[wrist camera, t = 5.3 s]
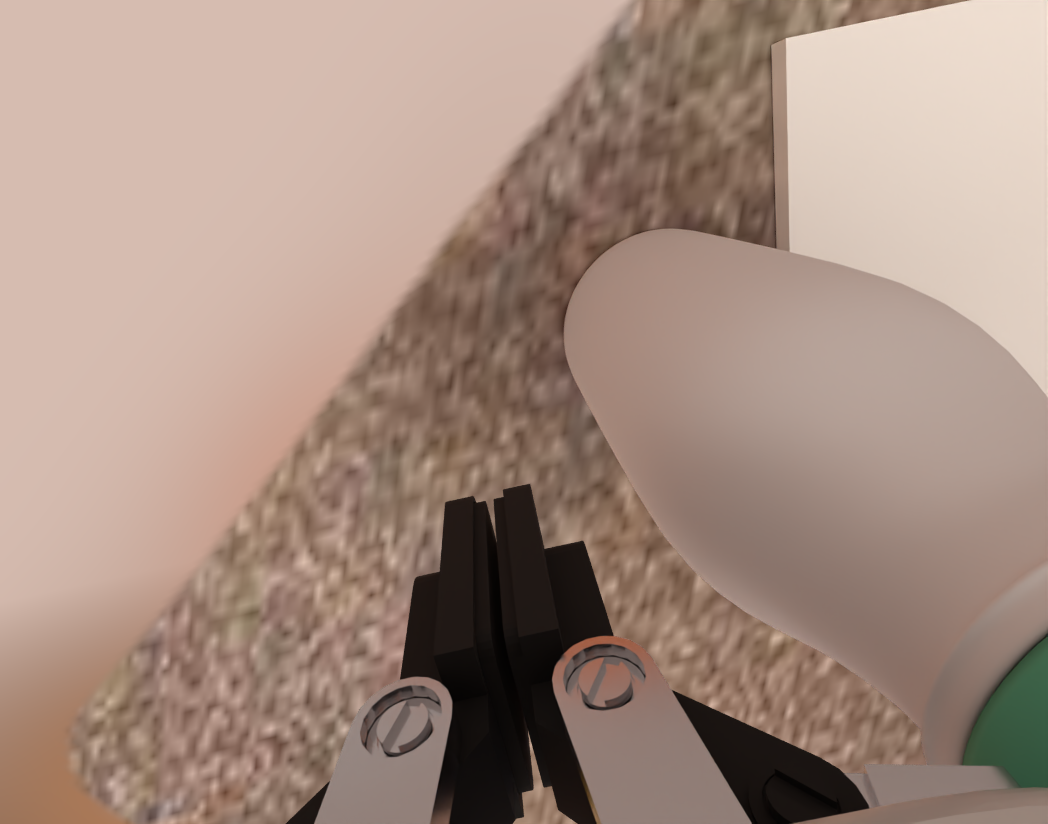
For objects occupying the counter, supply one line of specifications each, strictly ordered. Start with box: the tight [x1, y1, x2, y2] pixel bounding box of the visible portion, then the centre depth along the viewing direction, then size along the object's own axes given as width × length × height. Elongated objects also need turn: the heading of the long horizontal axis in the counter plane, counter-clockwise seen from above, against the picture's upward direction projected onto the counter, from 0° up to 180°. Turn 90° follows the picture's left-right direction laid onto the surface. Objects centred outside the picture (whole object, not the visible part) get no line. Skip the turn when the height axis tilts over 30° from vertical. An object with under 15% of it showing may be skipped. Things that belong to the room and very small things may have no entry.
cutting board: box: [771, 0, 1048, 397], centre depth 23 cm, size 14×18×1 cm
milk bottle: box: [564, 229, 1048, 788], centre depth 14 cm, size 8×8×20 cm
